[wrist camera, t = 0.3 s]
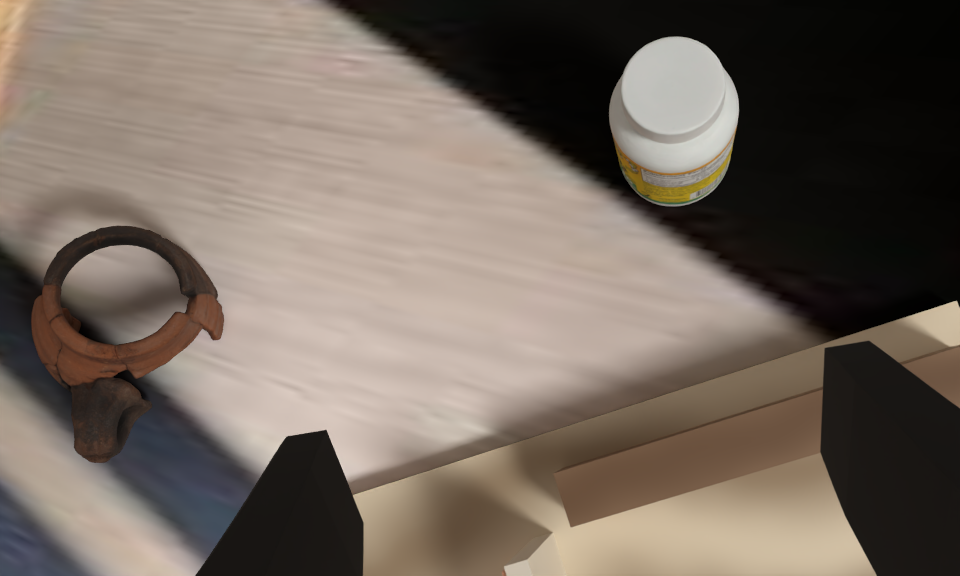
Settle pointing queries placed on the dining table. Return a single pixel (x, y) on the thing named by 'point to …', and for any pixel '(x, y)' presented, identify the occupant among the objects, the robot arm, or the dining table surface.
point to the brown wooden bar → (719, 449)
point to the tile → (537, 559)
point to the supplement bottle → (674, 121)
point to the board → (654, 527)
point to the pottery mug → (92, 365)
